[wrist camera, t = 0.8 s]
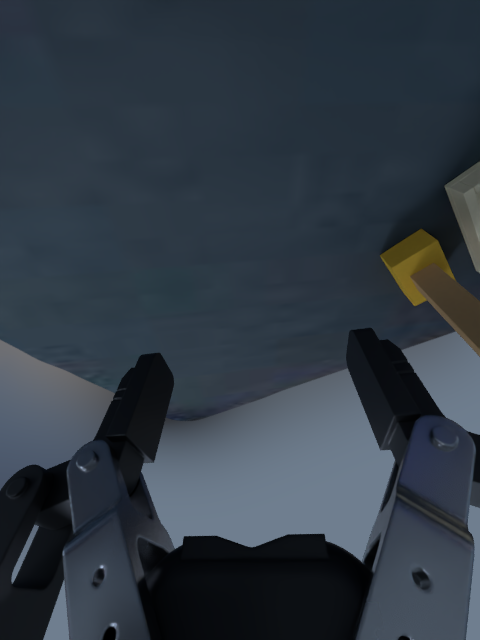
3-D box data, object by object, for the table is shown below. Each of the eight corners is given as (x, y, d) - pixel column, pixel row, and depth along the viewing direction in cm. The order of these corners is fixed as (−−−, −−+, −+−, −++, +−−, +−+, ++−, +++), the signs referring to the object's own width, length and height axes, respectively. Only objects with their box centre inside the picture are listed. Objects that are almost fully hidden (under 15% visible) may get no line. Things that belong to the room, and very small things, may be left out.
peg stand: (402, 292, 32) (500, 408, 20) (379, 255, 28) (479, 368, 16) (441, 270, 30) (576, 386, 18) (421, 228, 26) (571, 334, 14)
